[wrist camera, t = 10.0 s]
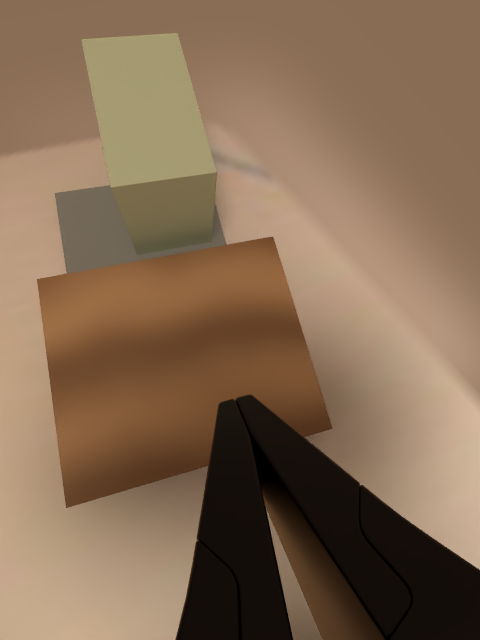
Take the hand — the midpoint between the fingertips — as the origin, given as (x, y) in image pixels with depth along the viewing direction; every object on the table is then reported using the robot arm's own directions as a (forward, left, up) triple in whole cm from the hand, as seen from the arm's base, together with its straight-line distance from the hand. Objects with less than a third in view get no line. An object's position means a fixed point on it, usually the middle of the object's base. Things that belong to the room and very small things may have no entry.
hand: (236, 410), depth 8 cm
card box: (+11, +2, -9) cm, 14 cm away
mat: (+12, +5, -13) cm, 18 cm away
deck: (+3, +2, -13) cm, 13 cm away
